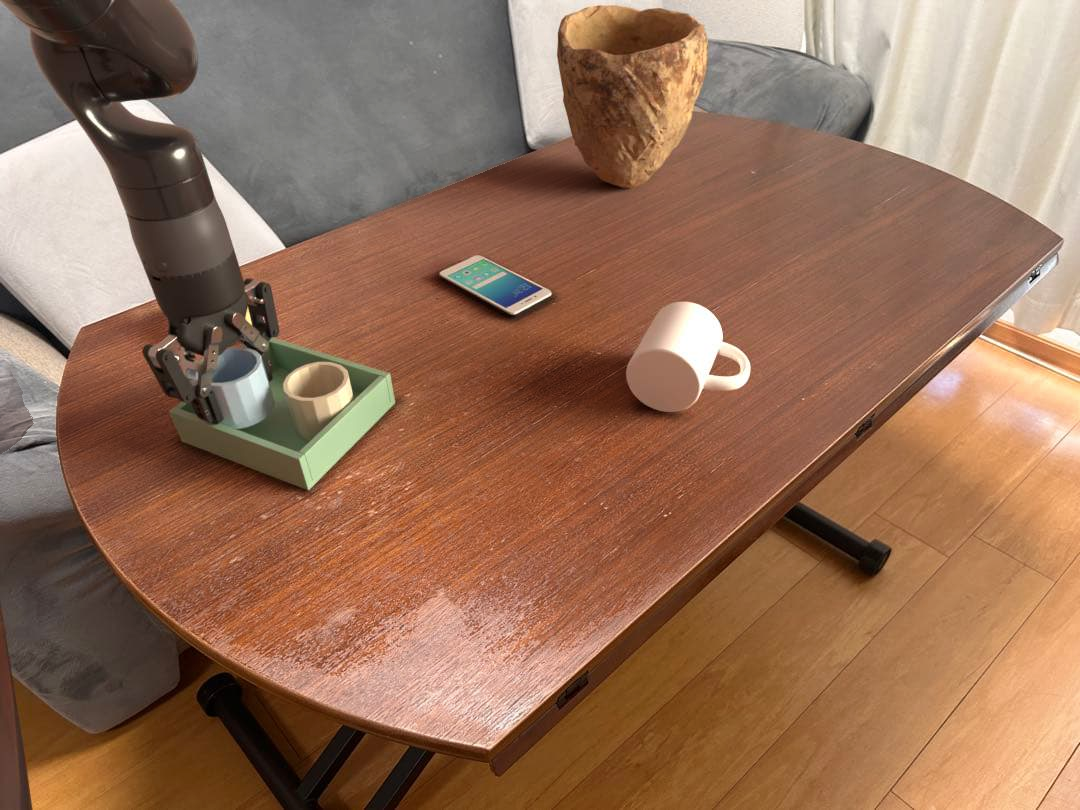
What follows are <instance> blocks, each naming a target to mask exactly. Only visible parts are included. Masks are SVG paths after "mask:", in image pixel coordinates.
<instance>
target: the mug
mask: <svg viewBox="0 0 1080 810" xmlns="http://www.w3.org/2000/svg"><path fill="white" fill-rule="evenodd" d="M722 329H723V328H722V327H721V323H720V322H719V320H718V318H717V317H716V315H714V314H713V312H711V311H710V310H709V309H707V308H706V307H704V306H702V305H700V304H698V303H695V302H691V301H675V302H671V303H669V304H667V305H664V306H663V307H662V308H660V310H658V312H657V313H656V314H655V316H654V318H653V320H652V321H651V323H650V325H649V326H648V328H647V330H646V332H645V334H644V335H643V337H642V338H641V341H640V342H639V344H638V346H637V347H636V350H635V351H634V353H633V354H632V357H631V358H630V360H629V362H628V364H627V367H626V371H625V377H626V382H627V385H628V387H629V389H630V391H631V393H632V395H634V397H635V398H636V399H637V400H638V401H639V402H641V403H643V404H644V405H645V406H647V407H648V408H651V409H653V410H656V411H659V412H664V413H678V412H681V411H684V410H687V409H689V408H691V407H692V406H693V405H694V404H695V403H697V401H698V400H699V398H700V396H701V393H702V391H703V390H708V391H715V392H716V391H718V392H728V391H729V392H730V391H734V390H738V389H741V387H743V386H744V385H745V384H746V383H747V382H748V380H749V377H750V374H751V363H750V361H749V359H748V357H747V356H746V355H745V353H744V352H743V351H742V350H740V349H739V348H738V347H736V346H735V345H732V344H730V343H727V342H725V341H723V330H722ZM717 356H722V357H726V358H728V359H731V360H733V361H735V362H736V363H738V365H739V367H740V370H739V372H738V373H737V374H735V375H729V376H721V375H720V376H719V375H712V374H710V372H711V371H712V370H711V369H712V367H713V365H714V363H715V360H716V358H717Z"/></svg>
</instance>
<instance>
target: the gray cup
mask: <svg viewBox="0 0 1080 810" xmlns="http://www.w3.org/2000/svg"><path fill="white" fill-rule="evenodd" d="M203 359H204V357H202V358H201V359H200V360H201V361H203ZM196 381H198V372H196ZM211 391H212V392H214V395H215V397H216V400H217V403H218V405H219V408H220V411H221V413H222V416H223V420H222V421H221V422H220V424H223V425H225V426H228V427H231V428H234V429H241V428H245V427H249V426H252V425H254V424H257V423H259V422H260V421H262V420H263V419H265V418H266V417H267V416H268V415H269V414H270V413H271V412H272V410H273V408H274V404H275V401H274V397H273V393H272V389H271V386H270V383H269V380H268V377H267V373H266V370H265V367H264V364H263V360H262V357H261V355H260V354H259V353H258V352H257V351H256V350H253V349H250V348H247V347H245V346H230V347H228V348H227V349H226V350H225V351H224V352H223V353H222V354H221V355H220V356H218V362H217V370H216V372H215V373H213V374H212V381H211Z"/></svg>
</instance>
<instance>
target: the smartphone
mask: <svg viewBox="0 0 1080 810" xmlns="http://www.w3.org/2000/svg"><path fill="white" fill-rule="evenodd" d="M439 279H440V280H441V281H442V282H444V283H446V284H448V285H449V286H452V287H453V288H456V289H457V290H459V291H461V293H464V294H466V295H468V296H470V297H472V298H473V299H475V300H477V301H479V302H481V303H483V304H484V305H486V306H488V307H489V308H491V309H493V310H495V311H497V312H499V313H500V314H503V316H506V317H508V318H510V319H516V318H517V317H519V316H521V315H523V314H524V313H526V312H529V311H531V310H532V309H535V308H536V307H538V306H540V305H541V304H543V303H546V302H547V301H549V300H550V299H552V290H550V289H548V288H546V287H545V286H543V285H540V284H538V283H536V282H534V281H532V280H530V279H528V278H526V277H524V276H523V275H520V274H518V273H516V272H515V271H513V270H510V269H509V268H506V267H504V266H503V265H500V264H499V263H497V262H494V261H492V260H491V259H488V258H486V257H484V256H482V255H479V254H478V255H473V256H471V257H469V258H467V259H464V260H462V261H461V262H457V263H456V264H453V265H452V266H450V267H448V268H445V269H443V270H441V271H440V272H439Z"/></svg>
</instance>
